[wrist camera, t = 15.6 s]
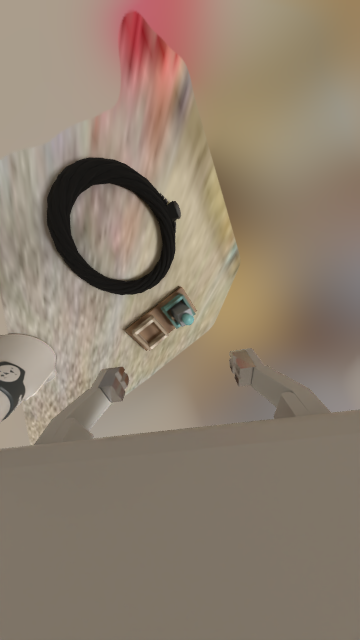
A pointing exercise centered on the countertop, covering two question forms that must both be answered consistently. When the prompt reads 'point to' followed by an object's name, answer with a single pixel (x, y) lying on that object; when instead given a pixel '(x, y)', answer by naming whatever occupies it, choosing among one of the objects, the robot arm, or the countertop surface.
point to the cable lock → (120, 174)
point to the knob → (182, 314)
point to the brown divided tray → (158, 321)
